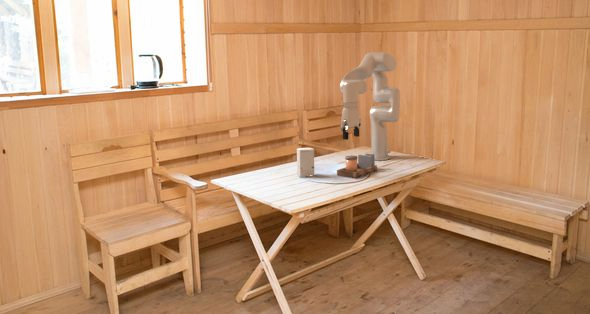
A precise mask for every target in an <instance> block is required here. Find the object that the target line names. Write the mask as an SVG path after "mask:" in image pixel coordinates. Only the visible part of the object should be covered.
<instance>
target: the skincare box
mask: <svg viewBox="0 0 590 314" xmlns="http://www.w3.org/2000/svg"><path fill="white" fill-rule="evenodd" d="M296 175H297V176H298V177H299V178H304V177H303V176H308V177H311V176H310V175H314V176H315V149H314V148H312V147H300V148H296Z"/></svg>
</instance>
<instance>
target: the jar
mask: <svg viewBox="0 0 590 314" xmlns="http://www.w3.org/2000/svg"><path fill="white" fill-rule="evenodd" d="M344 159H345V167H346V171H351V172H357V163H358V155H354V154H353V155H352V154H351V155H346V156H345V158H344Z"/></svg>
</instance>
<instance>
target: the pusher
mask: <svg viewBox="0 0 590 314" xmlns="http://www.w3.org/2000/svg"><path fill="white" fill-rule="evenodd" d="M375 161H376V160H375V154H371V153H368V152H367V153H365V154H358V155H357V163H358V167H359V168H368V167H371V166H374V165H376V164H375V163H376V162H375Z"/></svg>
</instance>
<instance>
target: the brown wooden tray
mask: <svg viewBox="0 0 590 314" xmlns="http://www.w3.org/2000/svg"><path fill="white" fill-rule="evenodd" d="M377 171H378V165H376V164H375V165H374V166H371V167H368V168H359V167H358V162H357V172H351V171H346V166H345V167H343V168H340V169H337V170H336V176H337V175H338V176H337V177H342V176H343V178H349V179H358V178H361V177H364V176H367V175H370V174H372V173H375V172H377Z"/></svg>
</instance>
